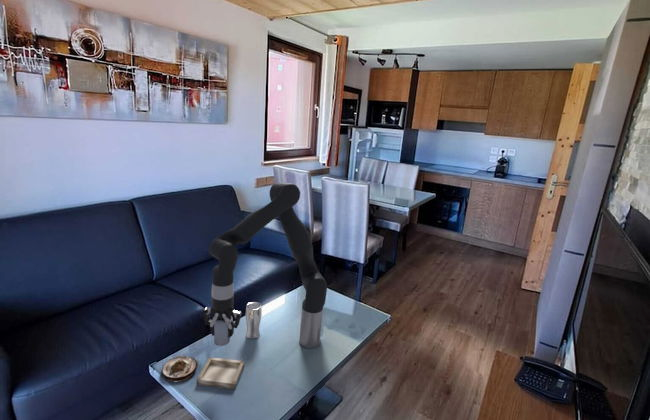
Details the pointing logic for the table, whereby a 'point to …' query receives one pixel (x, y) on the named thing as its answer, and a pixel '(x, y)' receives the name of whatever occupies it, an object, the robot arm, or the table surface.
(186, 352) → the table surface
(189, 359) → the stuffed round slice
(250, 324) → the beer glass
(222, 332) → the grey rounded cylinder
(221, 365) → the birch tray
